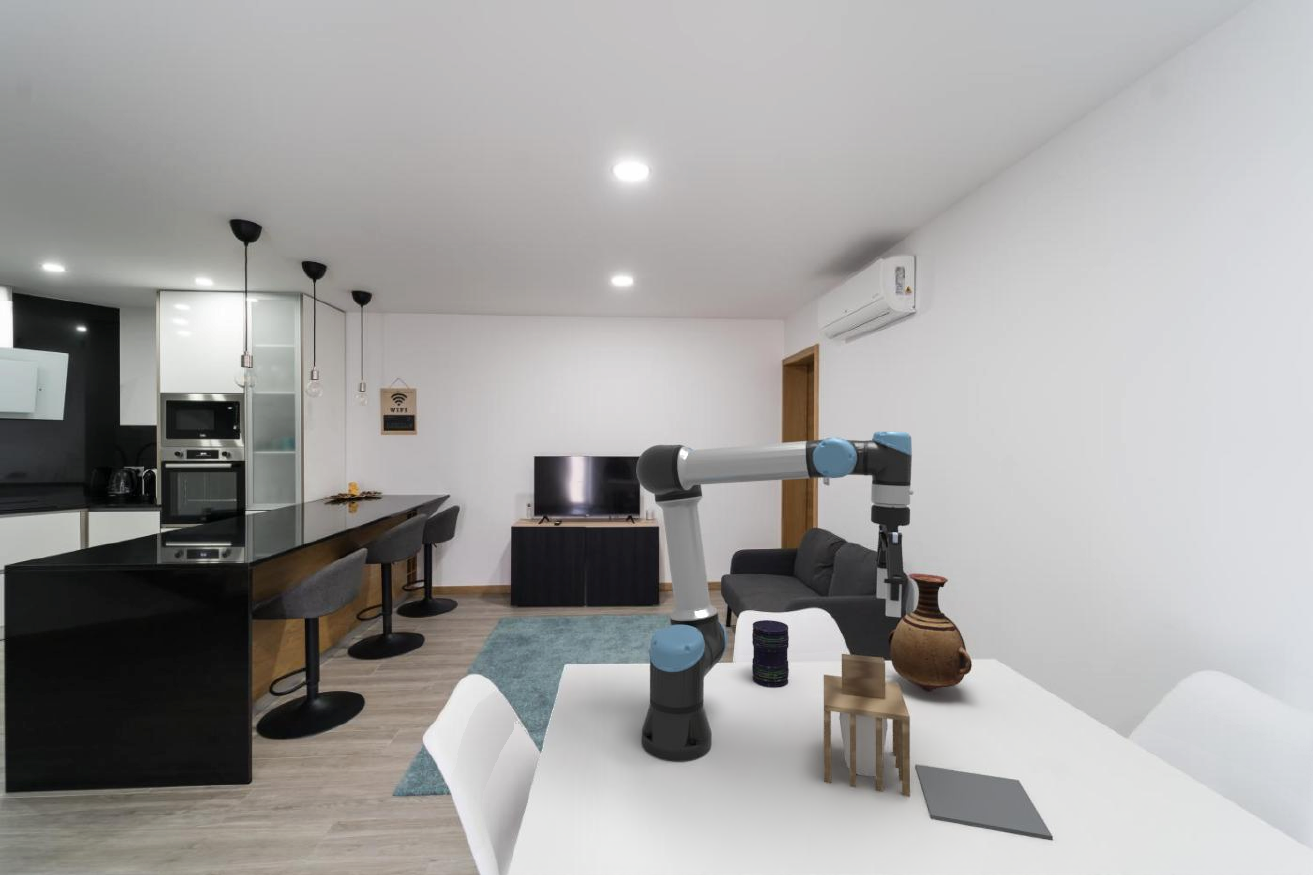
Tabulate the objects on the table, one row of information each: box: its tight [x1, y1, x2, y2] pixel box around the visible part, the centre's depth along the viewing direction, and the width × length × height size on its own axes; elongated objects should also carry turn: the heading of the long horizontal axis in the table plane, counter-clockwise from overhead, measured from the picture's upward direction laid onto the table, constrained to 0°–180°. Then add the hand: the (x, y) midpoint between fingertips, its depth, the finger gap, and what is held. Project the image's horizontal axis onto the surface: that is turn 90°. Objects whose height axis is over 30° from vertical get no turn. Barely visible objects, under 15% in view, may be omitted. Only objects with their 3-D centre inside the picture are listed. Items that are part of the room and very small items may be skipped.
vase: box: [887, 573, 973, 692], centre depth 146 cm, size 21×18×30 cm
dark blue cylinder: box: [751, 619, 790, 689], centre depth 152 cm, size 10×10×15 cm
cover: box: [823, 653, 911, 797], centre depth 110 cm, size 15×15×22 cm
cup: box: [838, 712, 889, 777], centre depth 110 cm, size 9×9×12 cm
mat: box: [914, 763, 1053, 841], centre depth 100 cm, size 18×16×1 cm
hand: (887, 606), depth 115 cm, fingers open, 13 cm apart
